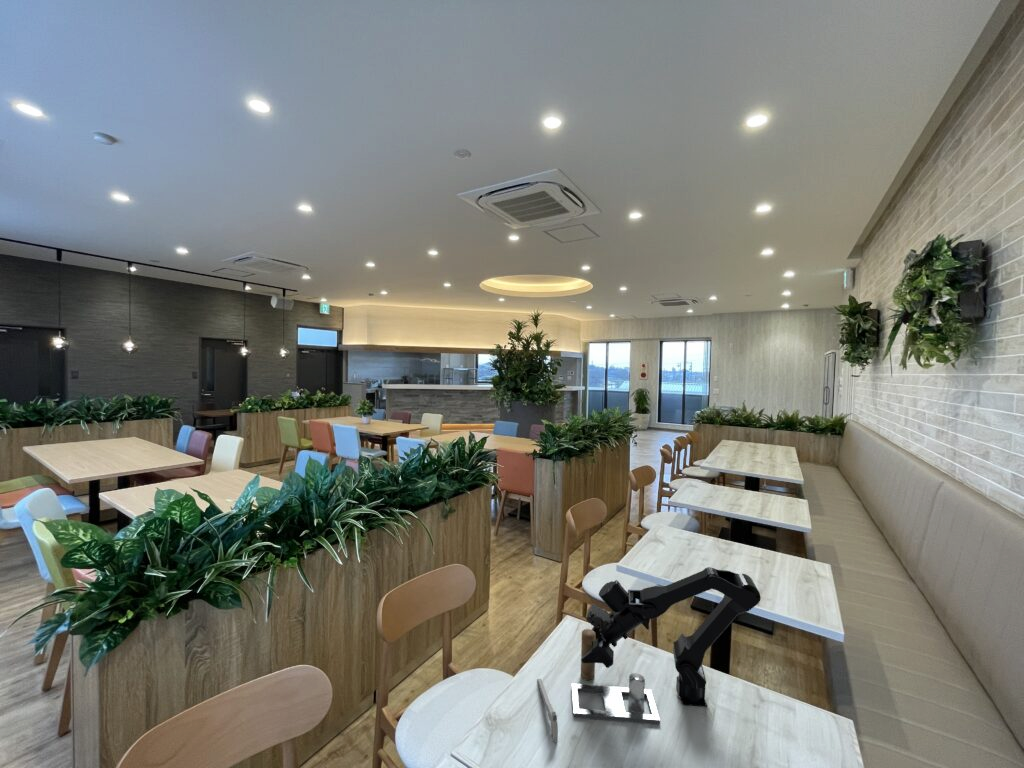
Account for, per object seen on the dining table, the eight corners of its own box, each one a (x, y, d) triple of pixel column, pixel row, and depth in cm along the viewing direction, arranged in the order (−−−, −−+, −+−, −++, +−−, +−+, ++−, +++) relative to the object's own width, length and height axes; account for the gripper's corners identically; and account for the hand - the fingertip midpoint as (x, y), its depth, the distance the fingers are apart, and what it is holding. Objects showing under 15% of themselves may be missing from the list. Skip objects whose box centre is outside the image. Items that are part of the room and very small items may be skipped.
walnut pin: (593, 671, 127) (594, 629, 126) (595, 681, 123) (596, 638, 122) (580, 670, 127) (581, 628, 126) (581, 680, 123) (582, 637, 122)
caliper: (557, 744, 103) (558, 719, 103) (553, 744, 103) (554, 720, 103) (540, 680, 123) (540, 659, 123) (536, 680, 123) (537, 660, 123)
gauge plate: (650, 693, 119) (650, 689, 118) (659, 724, 109) (660, 720, 109) (571, 687, 120) (571, 683, 120) (573, 717, 110) (573, 712, 110)
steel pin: (642, 701, 116) (643, 673, 115) (645, 713, 112) (646, 685, 111) (627, 700, 116) (628, 672, 116) (629, 712, 112) (630, 683, 112)
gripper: (605, 583, 131) (568, 611, 135) (601, 619, 113) (559, 650, 117) (630, 611, 130) (593, 639, 133) (631, 652, 112) (588, 683, 115)
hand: (583, 651), depth 125 cm, fingers open, 8 cm apart
